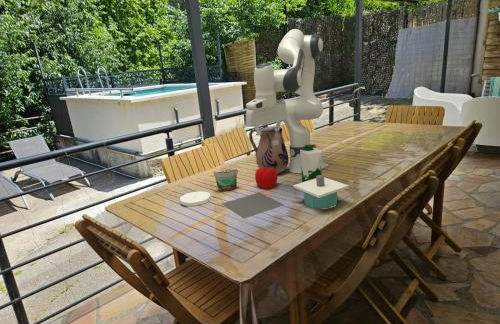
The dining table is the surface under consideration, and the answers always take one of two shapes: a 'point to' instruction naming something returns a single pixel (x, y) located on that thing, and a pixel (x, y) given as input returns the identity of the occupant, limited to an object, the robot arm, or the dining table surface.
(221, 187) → the food container
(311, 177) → the milk carton
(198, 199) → the plastic lid
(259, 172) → the tomato
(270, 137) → the ceramic pitcher
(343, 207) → the dining table surface
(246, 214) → the rubber mat
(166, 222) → the dining table surface
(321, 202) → the teal octagonal bowl
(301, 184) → the cover board
